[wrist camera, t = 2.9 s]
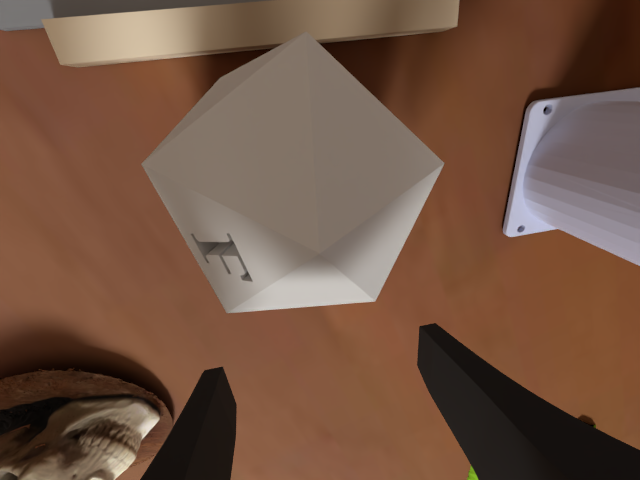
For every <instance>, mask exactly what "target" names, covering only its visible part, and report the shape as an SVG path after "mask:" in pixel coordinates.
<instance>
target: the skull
mask: <svg viewBox="0 0 640 480" xmlns="http://www.w3.org/2000/svg"><path fill="white" fill-rule="evenodd" d="M73 369H75V368H73ZM73 369H67V371H62V370H55V369H52V370H55V371H46V370H42V369H38V370H39V371H41V372H38V371H34V373H33V372H32V373H31V372H30V373H26V374H24V373H22V374H21V375H15V376H13V377H7V378H4V379H1V380H0V480H115V479H116V478H117V477H118V476H119V475H120V474H121V473H122V472H124V471H125V470H126V469H127V468H129V467H132V466H135V465H137V464H140V463H141V462H142V463H143V462H144V461H146V460H147V459H150V458H151V457H152V456H154V455H156V454H157V453H158V451H159V450H160V448H161V447H162V445H163V443H164V442H165V440H166V438H167V437H168V435H169V433H170V432H171V430H172V428H173V422H172V417H171V415H170V413H169V411H168V409H167V407H166V406H165V404H164V403H163V402H162V400H159V399H158V397H157V396H155V395H154V394H153V393H151V392H150V391H149V392H148V391H147V390H145V389H144V388H142V387H139V386H137V385H135V384H133V383H128V382H125V381H122V379H120V378H118V379H117V378H111V377H112V376H106V375H104V376H103V374H98V373H97V375H96V374H94V373H89V372H87V373H85V372H82V371H81V370H80V369H79V370H78V371H73ZM93 372H94V371H93ZM156 450H157V451H156Z"/></svg>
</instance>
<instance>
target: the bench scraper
mask: <svg viewBox="0 0 640 480" xmlns="http://www.w3.org/2000/svg"><path fill="white" fill-rule="evenodd" d="M259 1H271V0H0V30H4V31H12V30H24V29H36V28H45V27H44V25H43V23H42V20H41V19H52V18H64V17H76V16H89V15H101V14H113V13H125V12H137V11H149V10H162V9H174V8H186V7H198V6H210V5H223V4H235V3H247V2H259Z"/></svg>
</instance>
